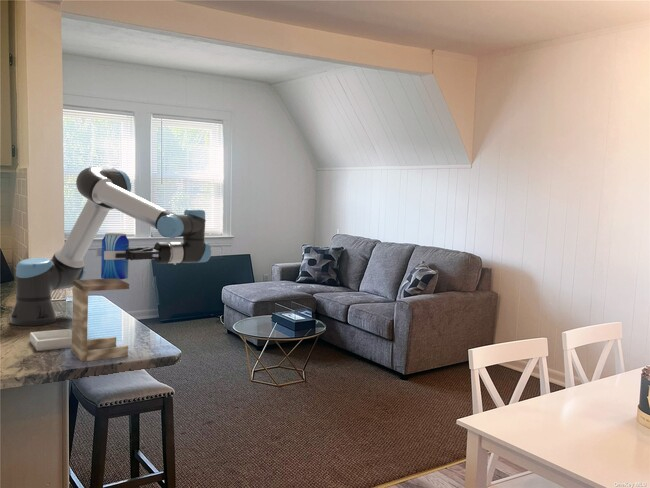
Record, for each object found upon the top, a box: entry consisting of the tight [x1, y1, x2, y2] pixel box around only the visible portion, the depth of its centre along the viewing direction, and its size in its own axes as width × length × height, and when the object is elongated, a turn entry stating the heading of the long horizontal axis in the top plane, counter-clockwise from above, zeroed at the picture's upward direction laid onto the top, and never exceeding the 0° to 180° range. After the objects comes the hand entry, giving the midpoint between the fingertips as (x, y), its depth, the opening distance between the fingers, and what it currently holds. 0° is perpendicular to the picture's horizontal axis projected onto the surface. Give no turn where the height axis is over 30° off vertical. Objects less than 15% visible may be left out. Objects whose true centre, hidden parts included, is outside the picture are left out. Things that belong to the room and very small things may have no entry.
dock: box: [71, 278, 130, 362], centre depth 173 cm, size 14×13×22 cm
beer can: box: [100, 232, 130, 283], centre depth 185 cm, size 8×8×16 cm
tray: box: [29, 328, 72, 351], centre depth 181 cm, size 12×12×3 cm
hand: (100, 253), depth 182 cm, fingers closed on beer can, 8 cm apart
